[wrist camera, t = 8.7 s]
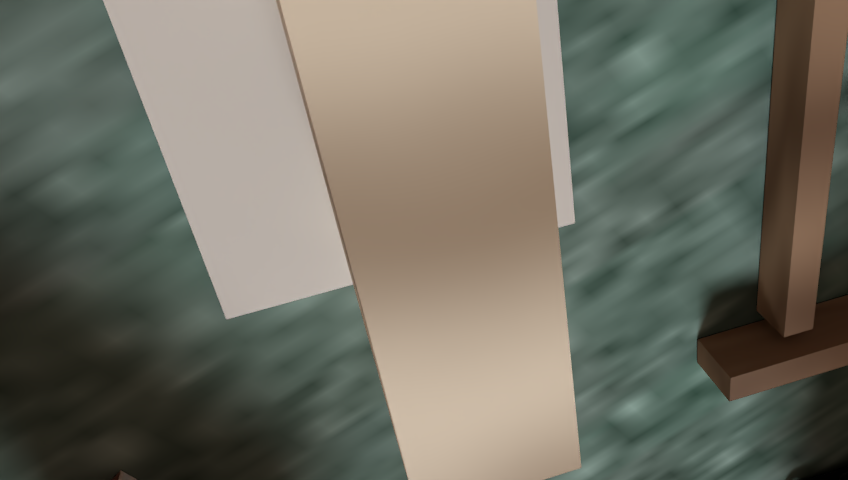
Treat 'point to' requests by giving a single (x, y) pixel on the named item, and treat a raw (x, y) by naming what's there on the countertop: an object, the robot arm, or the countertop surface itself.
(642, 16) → the countertop surface
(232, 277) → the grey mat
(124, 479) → the food container
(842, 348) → the rack
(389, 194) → the maple panel
